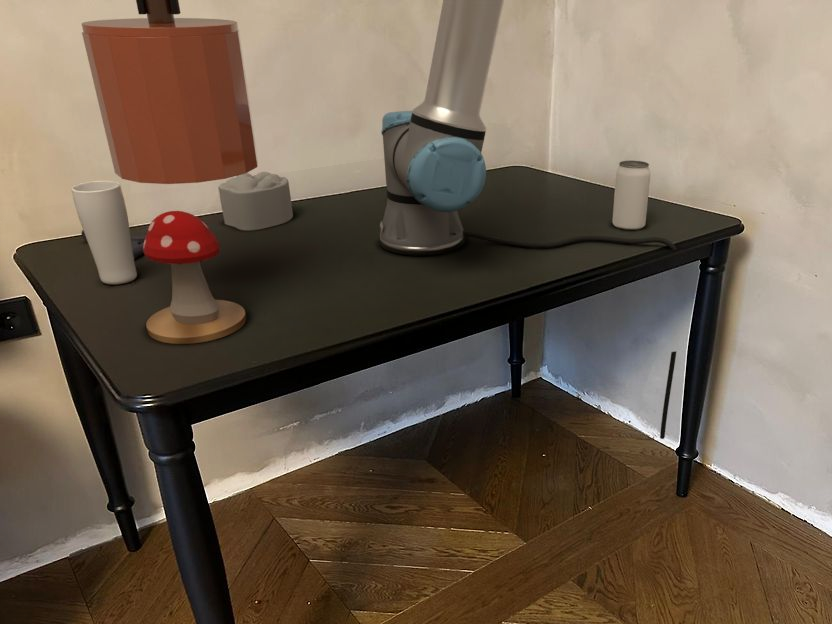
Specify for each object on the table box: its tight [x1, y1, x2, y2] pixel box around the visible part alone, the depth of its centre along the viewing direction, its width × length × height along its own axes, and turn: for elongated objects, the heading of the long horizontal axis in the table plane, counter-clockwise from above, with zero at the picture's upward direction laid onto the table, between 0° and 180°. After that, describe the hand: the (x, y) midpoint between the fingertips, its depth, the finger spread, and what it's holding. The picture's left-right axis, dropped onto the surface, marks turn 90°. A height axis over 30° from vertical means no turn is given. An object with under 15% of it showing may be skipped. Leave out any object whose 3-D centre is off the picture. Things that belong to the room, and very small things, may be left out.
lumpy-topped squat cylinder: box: [218, 171, 294, 231], centre depth 148 cm, size 10×13×9 cm
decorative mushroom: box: [143, 210, 221, 324], centre depth 102 cm, size 10×9×15 cm
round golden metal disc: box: [145, 299, 247, 345], centre depth 106 cm, size 13×13×1 cm
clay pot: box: [81, 0, 259, 185], centre depth 100 cm, size 19×19×27 cm
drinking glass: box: [70, 180, 138, 286], centre depth 117 cm, size 7×7×15 cm
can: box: [611, 159, 651, 231], centre depth 146 cm, size 6×6×12 cm
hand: (159, 13), depth 97 cm, fingers closed on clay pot, 3 cm apart
